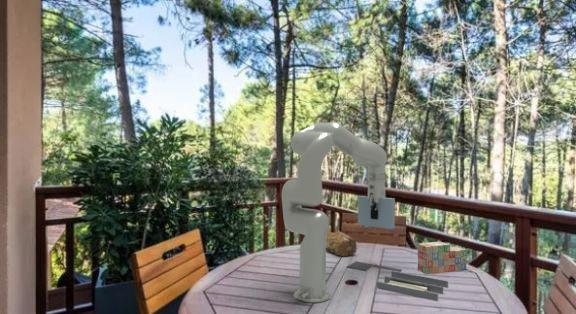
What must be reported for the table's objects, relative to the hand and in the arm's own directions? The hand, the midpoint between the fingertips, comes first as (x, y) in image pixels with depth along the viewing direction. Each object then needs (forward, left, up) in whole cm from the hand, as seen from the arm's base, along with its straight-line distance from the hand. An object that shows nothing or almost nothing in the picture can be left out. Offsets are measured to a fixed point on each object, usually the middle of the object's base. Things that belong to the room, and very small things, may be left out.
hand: (375, 218), depth 171 cm
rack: (-14, -21, -23) cm, 35 cm away
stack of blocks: (+17, -25, -24) cm, 38 cm away
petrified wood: (+17, +26, -24) cm, 39 cm away
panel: (0, 0, -4) cm, 4 cm away
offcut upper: (-19, -20, -22) cm, 36 cm away
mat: (+1, +1, -23) cm, 23 cm away
